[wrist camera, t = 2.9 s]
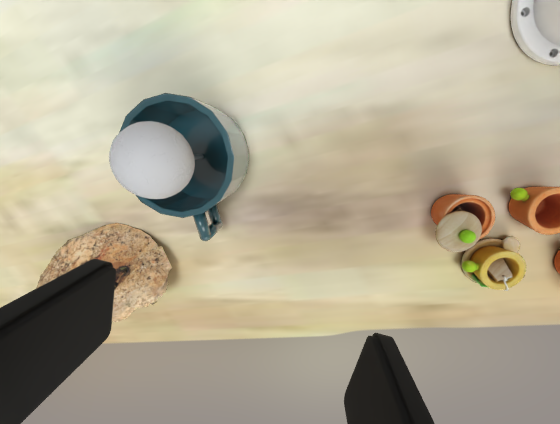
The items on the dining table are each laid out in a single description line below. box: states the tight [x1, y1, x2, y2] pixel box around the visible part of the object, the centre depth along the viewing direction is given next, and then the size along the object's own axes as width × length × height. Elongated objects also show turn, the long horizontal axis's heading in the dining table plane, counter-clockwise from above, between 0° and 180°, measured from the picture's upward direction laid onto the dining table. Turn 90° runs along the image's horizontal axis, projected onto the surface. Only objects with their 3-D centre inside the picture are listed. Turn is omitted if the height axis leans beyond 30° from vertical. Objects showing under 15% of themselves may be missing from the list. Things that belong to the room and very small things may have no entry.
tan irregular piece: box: [36, 223, 172, 322], centre depth 39 cm, size 18×14×8 cm
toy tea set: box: [431, 187, 560, 290], centre depth 30 cm, size 26×16×10 cm, turn 95°
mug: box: [119, 93, 249, 241], centre depth 32 cm, size 17×13×8 cm
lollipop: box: [109, 121, 204, 199], centre depth 28 cm, size 7×7×15 cm
